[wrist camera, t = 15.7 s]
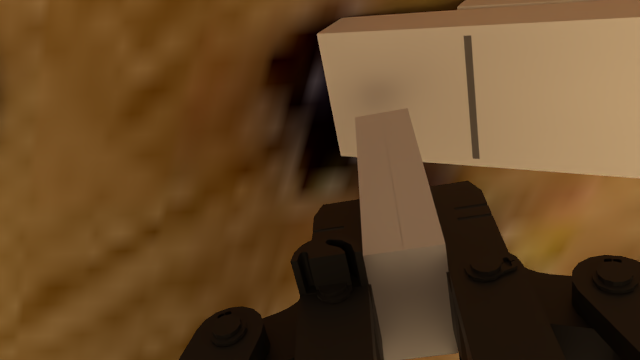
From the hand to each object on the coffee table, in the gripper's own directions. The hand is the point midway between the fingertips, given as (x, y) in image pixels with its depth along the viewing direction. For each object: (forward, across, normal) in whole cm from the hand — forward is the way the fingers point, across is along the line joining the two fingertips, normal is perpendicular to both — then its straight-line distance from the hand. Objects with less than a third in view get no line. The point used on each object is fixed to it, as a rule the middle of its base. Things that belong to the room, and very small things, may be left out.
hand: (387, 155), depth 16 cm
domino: (+7, -1, 0) cm, 7 cm away
